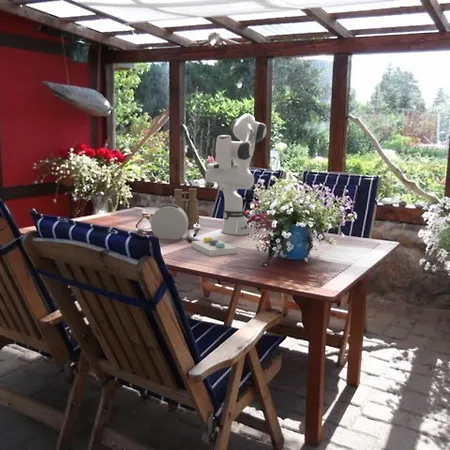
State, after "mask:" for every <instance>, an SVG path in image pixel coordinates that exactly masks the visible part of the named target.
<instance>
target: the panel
mask: <svg viewBox="0 0 450 450" xmlns="http://www.w3.org/2000/svg"><path fill="white" fill-rule="evenodd" d="M212 240H218V242H221V243H225V247H224V248H217V247H215V246H216V245H211V244H209V242H204V239H203V240H202V239H201V240H194V241H193V240H191V247H192V248H194V249H196V250H198V251H199V252H201V253H202V254H204V255H207V256H209V257H213V256H215V257H216V256H223V255H231V254H237V252H238V251H237V250H238V249H237V248H238V247H236V246H234V245H231V244H229V243H226V242H225V241H223V240H220V239H217V238H216V239H215V238H212Z"/></svg>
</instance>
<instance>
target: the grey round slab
mask: <svg viewBox="0 0 450 450" xmlns="http://www.w3.org/2000/svg"><path fill="white" fill-rule="evenodd" d="M188 224H189V222H188V217H187V215H186V211H185V212H184V211H183V210H182V209H181V208H180V207H179V206H177V205H174V204H173V203H166V204H162V205H161V207H160V208H158V209H157V210H156V211H155V212H154V213H153V214H152V216H151V219H150V229H151V231H152V234H153V235H154V236H155V235H156V236H158V237H159V238H158V239H166V240H167V239H168V240H170V239H171V240H181V239H182V237H184V236H185V234H186V233H187V231H188V230H189V228H188ZM156 236H155V237H156Z"/></svg>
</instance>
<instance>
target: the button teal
mask: <svg viewBox="0 0 450 450" xmlns="http://www.w3.org/2000/svg"><path fill="white" fill-rule="evenodd" d="M225 243H226V242H225ZM225 243H221V242H218V243H216V246H215V247H217V248H224V247H225Z"/></svg>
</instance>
